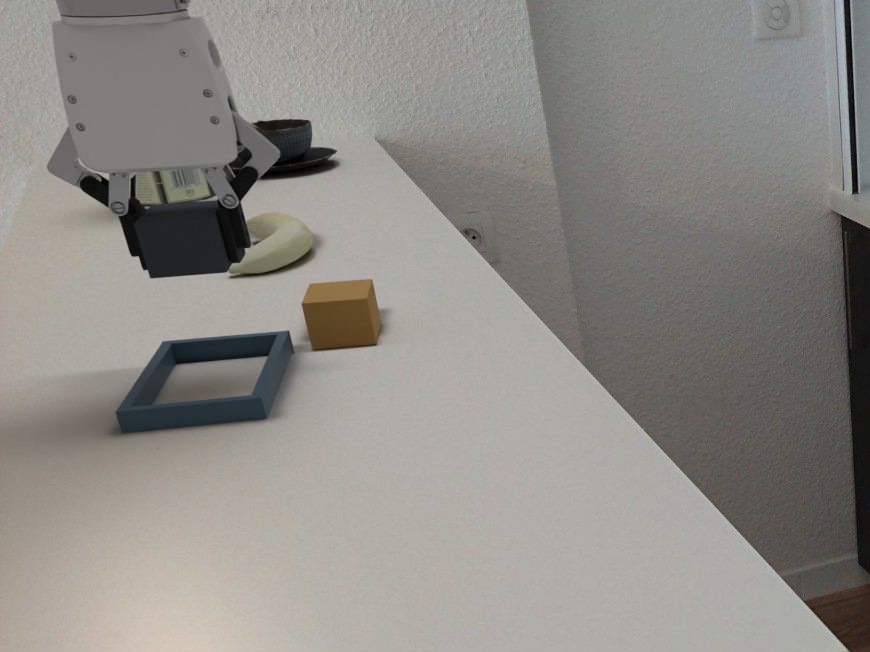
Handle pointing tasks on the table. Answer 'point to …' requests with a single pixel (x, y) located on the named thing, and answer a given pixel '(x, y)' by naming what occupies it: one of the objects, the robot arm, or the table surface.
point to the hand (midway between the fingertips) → (195, 259)
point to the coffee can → (173, 187)
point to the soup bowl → (287, 145)
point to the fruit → (274, 243)
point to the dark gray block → (182, 239)
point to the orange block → (341, 314)
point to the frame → (145, 416)
